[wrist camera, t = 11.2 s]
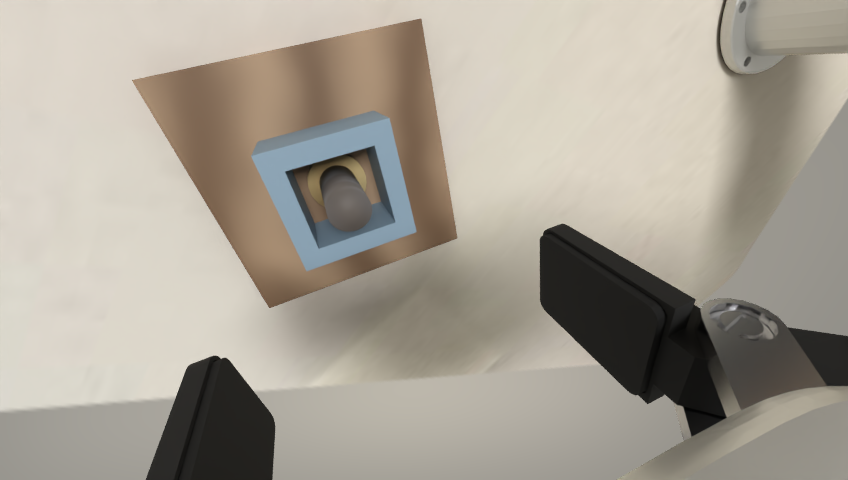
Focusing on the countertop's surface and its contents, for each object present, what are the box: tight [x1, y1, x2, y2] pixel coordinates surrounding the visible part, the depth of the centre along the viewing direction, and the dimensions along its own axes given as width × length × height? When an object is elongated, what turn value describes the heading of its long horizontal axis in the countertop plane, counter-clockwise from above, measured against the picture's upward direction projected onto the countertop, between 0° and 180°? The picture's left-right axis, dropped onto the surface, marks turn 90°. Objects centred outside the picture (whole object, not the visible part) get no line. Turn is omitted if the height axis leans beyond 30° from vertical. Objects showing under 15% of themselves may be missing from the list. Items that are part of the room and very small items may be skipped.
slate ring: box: [251, 111, 417, 271], centre depth 21 cm, size 7×7×4 cm
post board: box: [132, 19, 457, 308], centre depth 20 cm, size 16×16×8 cm
